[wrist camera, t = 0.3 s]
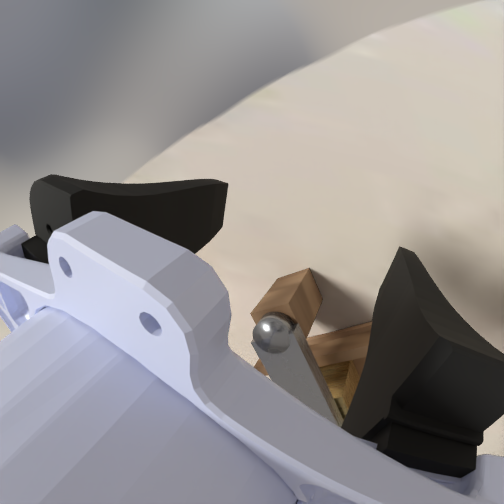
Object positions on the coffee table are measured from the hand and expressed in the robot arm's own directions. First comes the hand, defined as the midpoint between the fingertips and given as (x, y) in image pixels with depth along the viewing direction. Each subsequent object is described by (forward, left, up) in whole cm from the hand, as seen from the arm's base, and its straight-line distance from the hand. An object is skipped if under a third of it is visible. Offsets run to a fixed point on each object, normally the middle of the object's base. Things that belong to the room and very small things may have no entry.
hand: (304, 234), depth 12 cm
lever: (-6, -11, -5) cm, 14 cm away
